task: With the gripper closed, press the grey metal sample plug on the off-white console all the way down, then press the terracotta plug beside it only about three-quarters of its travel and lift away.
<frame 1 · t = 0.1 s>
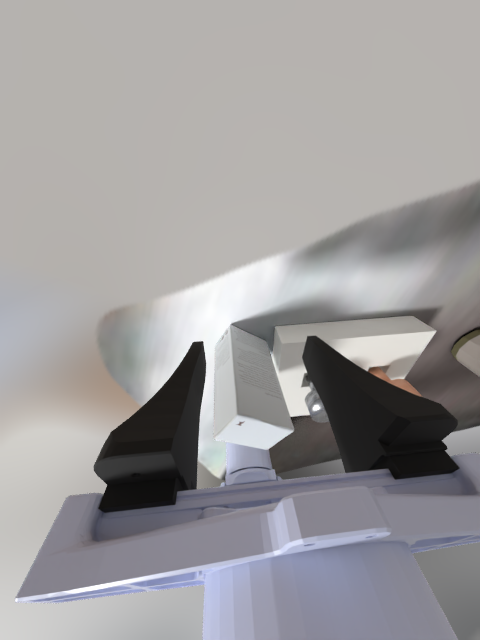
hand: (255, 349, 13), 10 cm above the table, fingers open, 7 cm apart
skincare box: (241, 342, 26), on the table
console: (330, 362, 30), on the table
bottle: (467, 341, 30), on the table
terracotta plug: (386, 386, 25), point 6 cm above the table, slide at 0.0 cm
sample plug: (319, 392, 24), point 6 cm above the table, slide at 0.0 cm
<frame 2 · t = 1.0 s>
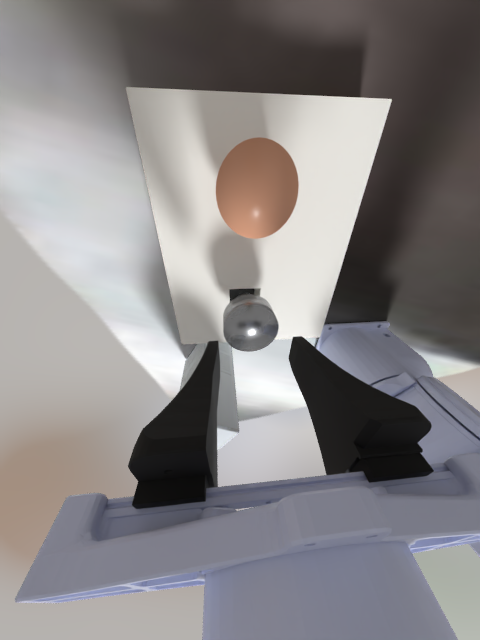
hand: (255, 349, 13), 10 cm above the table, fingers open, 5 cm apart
skincare box: (209, 350, 27), on the table
console: (251, 247, 19), on the table
terracotta plug: (250, 194, 12), point 6 cm above the table, slide at 0.0 cm
sample plug: (247, 313, 17), point 6 cm above the table, slide at 0.0 cm
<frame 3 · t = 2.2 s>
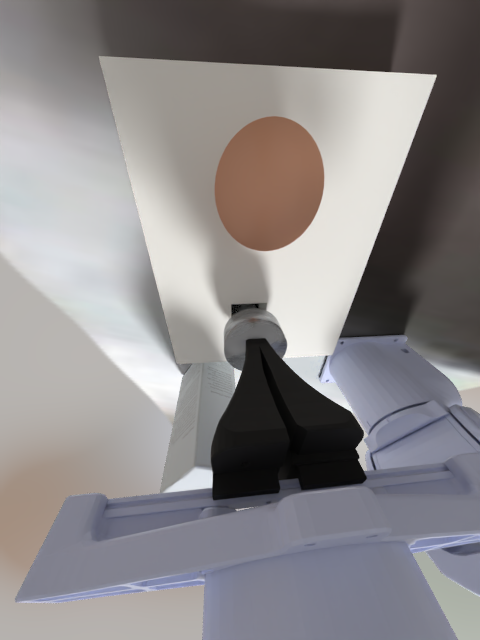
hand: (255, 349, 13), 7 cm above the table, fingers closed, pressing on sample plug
skincare box: (208, 366, 24), on the table
console: (256, 255, 17), on the table
terracotta plug: (258, 194, 10), point 6 cm above the table, slide at 0.0 cm
sample plug: (250, 328, 15), point 5 cm above the table, slide at 0.7 cm, touching gripper
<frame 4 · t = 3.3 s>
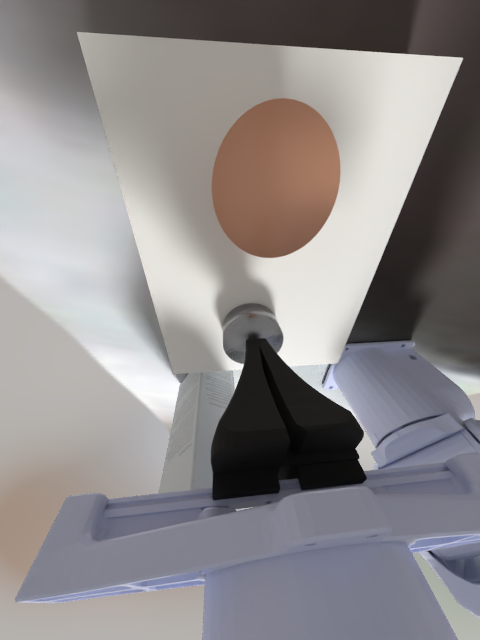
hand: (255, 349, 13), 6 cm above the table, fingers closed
skincare box: (206, 373, 23), on the table
console: (257, 258, 16), on the table
terracotta plug: (262, 193, 9), point 6 cm above the table, slide at 0.0 cm
sample plug: (248, 322, 16), point 3 cm above the table, slide at 2.7 cm
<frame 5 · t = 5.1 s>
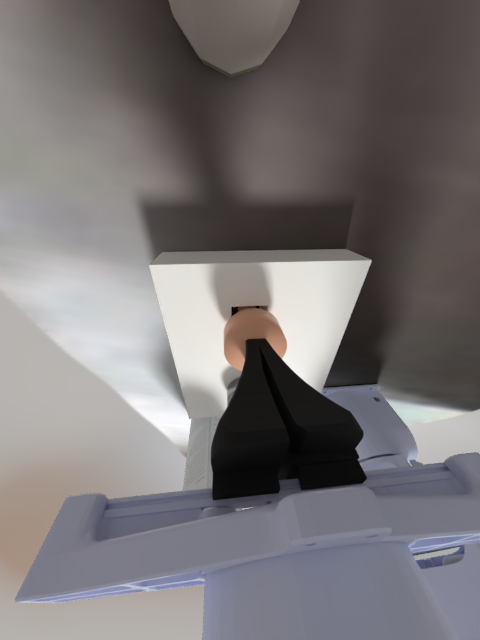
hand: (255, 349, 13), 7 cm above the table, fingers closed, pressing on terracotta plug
skincare box: (213, 409, 29), on the table
console: (252, 336, 22), on the table
terracotta plug: (250, 328, 15), point 4 cm above the table, slide at 1.1 cm, touching gripper
sample plug: (246, 384, 22), point 3 cm above the table, slide at 2.7 cm
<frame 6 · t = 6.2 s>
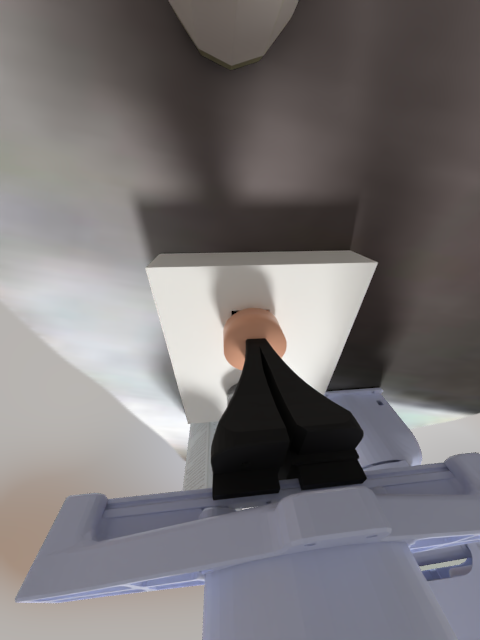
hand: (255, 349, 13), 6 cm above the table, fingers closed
skincare box: (212, 413, 29), on the table
console: (253, 340, 21), on the table
terracotta plug: (250, 327, 15), point 4 cm above the table, slide at 1.8 cm
sample plug: (246, 389, 21), point 3 cm above the table, slide at 2.7 cm
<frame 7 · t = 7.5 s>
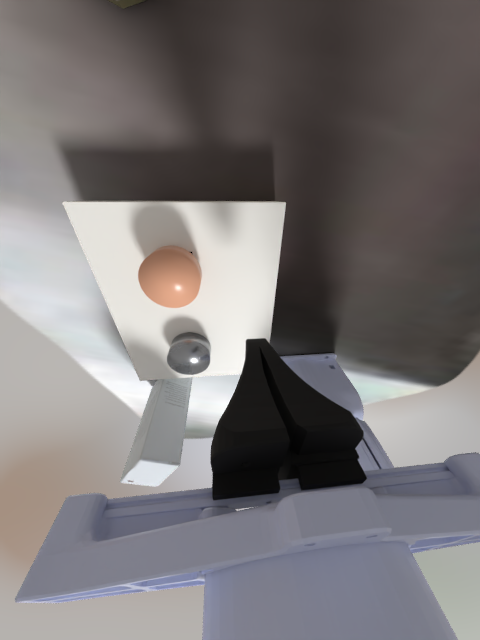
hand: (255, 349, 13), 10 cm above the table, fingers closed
skincare box: (173, 379, 29), on the table
console: (198, 297, 22), on the table
terracotta plug: (176, 270, 16), point 4 cm above the table, slide at 1.8 cm
sample plug: (191, 344, 22), point 3 cm above the table, slide at 2.7 cm
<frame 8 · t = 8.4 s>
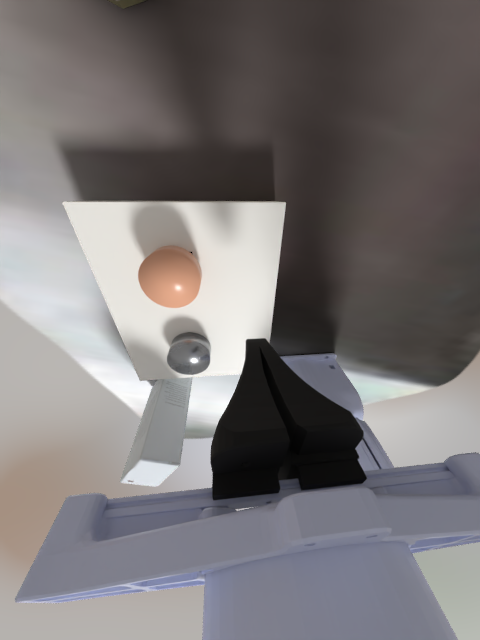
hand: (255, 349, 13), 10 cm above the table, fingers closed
skincare box: (173, 379, 29), on the table
console: (198, 297, 22), on the table
terracotta plug: (176, 270, 16), point 4 cm above the table, slide at 1.8 cm
sample plug: (191, 344, 22), point 3 cm above the table, slide at 2.7 cm
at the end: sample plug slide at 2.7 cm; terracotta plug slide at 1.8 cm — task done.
